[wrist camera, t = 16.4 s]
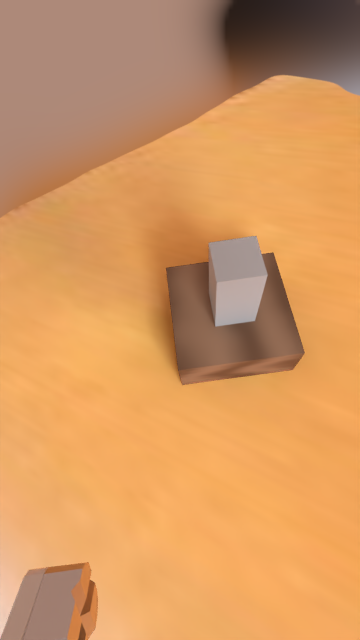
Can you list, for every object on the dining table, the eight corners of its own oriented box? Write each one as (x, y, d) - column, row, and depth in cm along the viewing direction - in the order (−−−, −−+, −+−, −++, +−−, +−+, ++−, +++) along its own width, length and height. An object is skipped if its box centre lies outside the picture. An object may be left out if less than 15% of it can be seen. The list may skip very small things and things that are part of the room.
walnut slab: (182, 384, 35) (178, 370, 31) (170, 291, 41) (166, 268, 36) (292, 369, 35) (304, 353, 30) (266, 277, 40) (273, 252, 36)
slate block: (215, 326, 32) (216, 282, 25) (208, 292, 34) (208, 242, 27) (254, 320, 32) (267, 275, 25) (246, 287, 34) (256, 235, 27)
